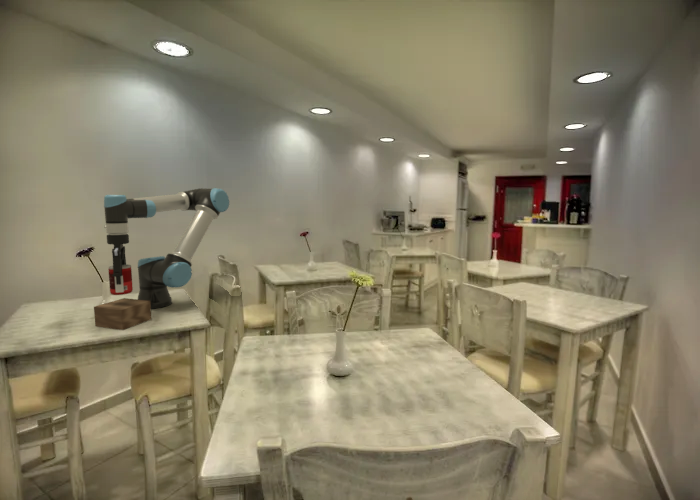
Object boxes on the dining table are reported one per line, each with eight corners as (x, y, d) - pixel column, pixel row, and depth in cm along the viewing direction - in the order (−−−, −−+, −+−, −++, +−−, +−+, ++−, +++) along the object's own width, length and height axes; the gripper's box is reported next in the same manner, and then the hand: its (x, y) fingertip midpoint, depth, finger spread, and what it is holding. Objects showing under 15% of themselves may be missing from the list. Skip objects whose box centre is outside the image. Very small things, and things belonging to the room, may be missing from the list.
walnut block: (125, 316, 164) (124, 298, 163) (151, 319, 160) (150, 300, 159) (95, 326, 151) (93, 306, 150) (122, 330, 147) (121, 310, 146)
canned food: (137, 290, 157) (135, 264, 156) (123, 295, 150) (121, 268, 148) (119, 290, 158) (117, 264, 157) (105, 294, 150) (103, 267, 149)
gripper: (111, 231, 159) (115, 285, 162) (100, 236, 140) (105, 296, 143) (132, 231, 162) (135, 283, 165) (124, 235, 143) (128, 294, 146)
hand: (121, 289), depth 154 cm, fingers closed on canned food, 8 cm apart
